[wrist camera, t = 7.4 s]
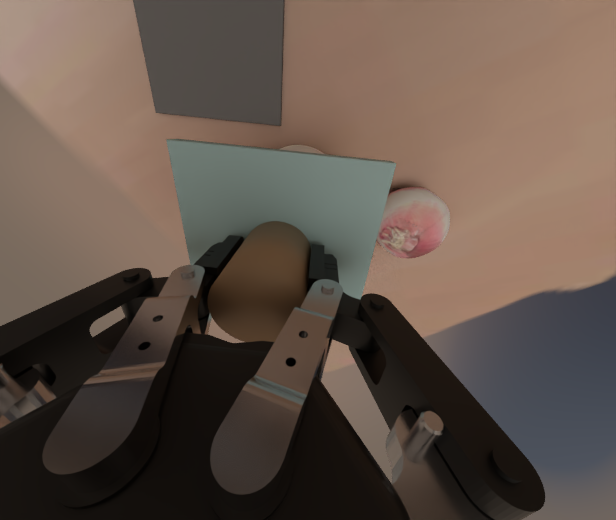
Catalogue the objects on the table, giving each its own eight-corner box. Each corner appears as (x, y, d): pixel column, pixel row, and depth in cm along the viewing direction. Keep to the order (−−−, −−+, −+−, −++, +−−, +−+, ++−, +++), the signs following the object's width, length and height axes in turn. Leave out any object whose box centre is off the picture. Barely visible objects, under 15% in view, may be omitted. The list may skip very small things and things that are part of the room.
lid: (178, 139, 12) (61, 145, 7) (391, 161, 12) (445, 185, 6) (205, 303, 17) (154, 378, 12) (351, 319, 17) (363, 401, 12)
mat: (118, -87, 18) (114, -92, 17) (286, -70, 18) (285, -74, 17) (158, 112, 24) (155, 112, 24) (280, 125, 24) (280, 125, 24)
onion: (358, 223, 30) (355, 228, 23) (403, 173, 27) (414, 162, 20) (406, 263, 29) (417, 281, 23) (455, 216, 27) (485, 220, 20)
